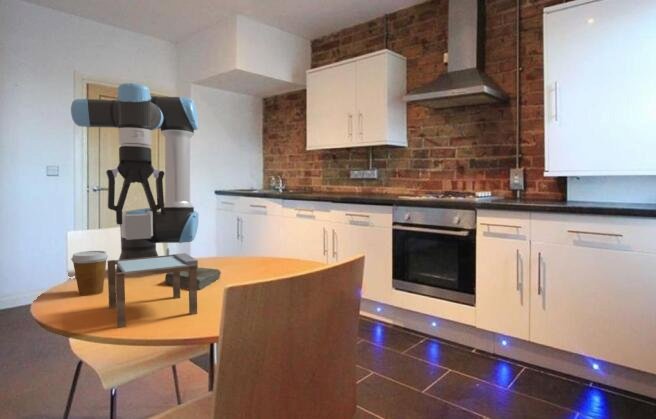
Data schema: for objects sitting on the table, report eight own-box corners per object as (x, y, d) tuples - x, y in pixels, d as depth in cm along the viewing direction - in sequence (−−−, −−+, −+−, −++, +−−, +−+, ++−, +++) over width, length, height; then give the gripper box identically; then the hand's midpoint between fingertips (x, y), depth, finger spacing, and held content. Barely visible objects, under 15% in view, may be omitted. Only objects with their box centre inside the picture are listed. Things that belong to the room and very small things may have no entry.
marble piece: (200, 291, 125) (199, 278, 125) (157, 288, 128) (157, 275, 128) (224, 278, 141) (224, 266, 141) (186, 276, 144) (186, 264, 144)
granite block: (124, 237, 105) (123, 214, 105) (147, 236, 108) (146, 213, 108) (127, 239, 101) (126, 215, 100) (151, 238, 104) (150, 215, 103)
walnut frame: (109, 306, 108) (107, 260, 107) (178, 296, 118) (178, 253, 118) (118, 327, 93) (116, 274, 92) (197, 313, 104) (196, 265, 103)
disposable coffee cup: (76, 290, 124) (74, 251, 123) (111, 287, 127) (109, 249, 127) (69, 298, 115) (67, 257, 114) (106, 295, 119) (105, 255, 118)
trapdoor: (117, 267, 107) (117, 258, 107) (183, 260, 117) (183, 252, 117) (125, 279, 95) (125, 269, 95) (199, 270, 105) (199, 261, 104)
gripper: (94, 142, 95) (97, 240, 96) (176, 147, 105) (178, 235, 107) (92, 145, 101) (94, 237, 102) (170, 149, 111) (171, 232, 113)
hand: (137, 236), depth 105 cm, fingers closed on granite block, 6 cm apart
